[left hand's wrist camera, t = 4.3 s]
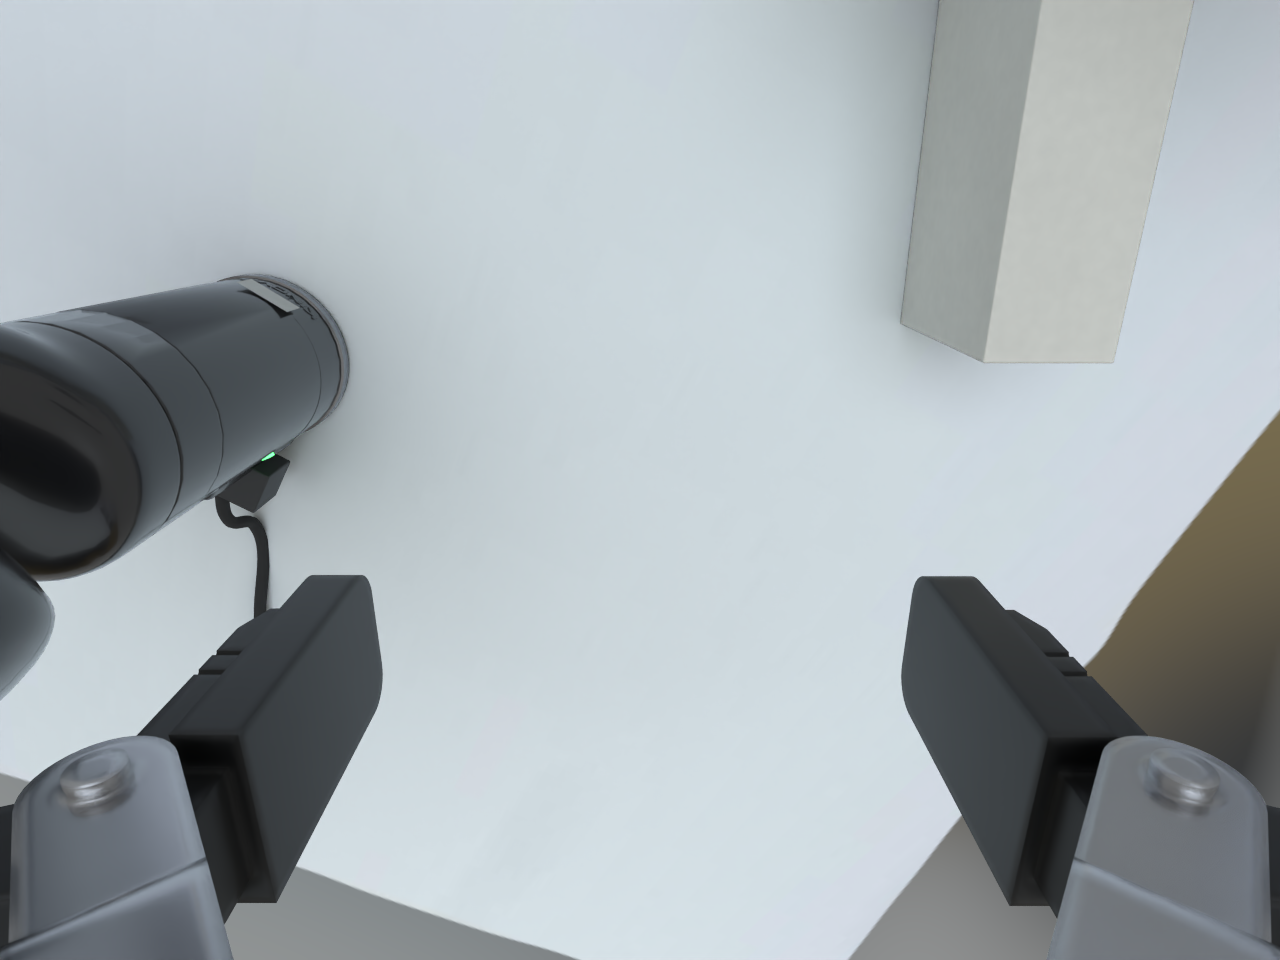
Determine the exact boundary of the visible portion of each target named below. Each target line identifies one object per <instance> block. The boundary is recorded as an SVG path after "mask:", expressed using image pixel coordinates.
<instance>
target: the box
mask: <svg viewBox="0 0 1280 960" xmlns="http://www.w3.org/2000/svg"><path fill="white" fill-rule="evenodd" d="M1193 3H1194V0H939V8H938V17H937V25H936V33H935V41H934V50H933V58H932V66H931V75H930V83H929V91H928V99H927V108H926V116H925V124H924V133H923V141H922V149H921V157H920V166H919V174H918V182H917V191H916V199H915V207H914V216H913V224H912V232H911V240H910V249H909V257H908V265H907V274H906V282H905V290H904V298H903V307H902V315H901V324H902V325H905V326H907V327H909V328H911V329H913V330H915V331H917V332H919V333H921V334H924V335H926V336H928V337H930V338H932V339H934V340H936V341H938V342H940V343H943V344H945V345H947V346H949V347H951V348H953V349H955V350H957V351H959V352H962V353H964V354H966V355H968V356H970V357H972V358H974V359H976V360H978V361H981V362H983V363H1113V362H1114V358H1115V354H1116V349H1117V345H1118V340H1119V336H1120V331H1121V327H1122V322H1123V318H1124V313H1125V309H1126V304H1127V300H1128V295H1129V291H1130V286H1131V282H1132V277H1133V273H1134V268H1135V264H1136V259H1137V255H1138V250H1139V246H1140V241H1141V237H1142V232H1143V228H1144V223H1145V219H1146V214H1147V210H1148V205H1149V201H1150V196H1151V192H1152V187H1153V183H1154V178H1155V174H1156V169H1157V165H1158V160H1159V156H1160V151H1161V147H1162V142H1163V138H1164V133H1165V129H1166V124H1167V120H1168V115H1169V111H1170V106H1171V102H1172V97H1173V93H1174V88H1175V84H1176V79H1177V75H1178V70H1179V66H1180V62H1181V57H1182V53H1183V48H1184V44H1185V39H1186V35H1187V30H1188V26H1189V21H1190V17H1191V12H1192V8H1193Z"/></svg>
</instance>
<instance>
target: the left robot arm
mask: <svg viewBox="0 0 1280 960" xmlns="http://www.w3.org/2000/svg"><path fill="white" fill-rule="evenodd" d="M348 373H349V362H348V354H347V349H346V345H345V342H344V339H343V336H342V334H341V332H340V330H339V328H338V326H337V324H336V322H335V321H334V319H333V318H332V316H331V315H330V314H329V312H328V311H327V310H326V309H325V307H324V306H323V305H322V304H321V303H320V302H319V301H318V300H316V299H315V298H314V297H313V296H312V295H310V294H309V293H308V292H306V291H305V290H303V289H302V288H300V287H298V286H297V285H295V284H292V283H290V282H288V281H286V280H283V279H280V278H276V277H273V276H267V275H258V274H248V275H240V276H235V277H230V278H226V279H223V280H220V281H217V282H214V283H208V284H202V285H196V286H191V287H186V288H181V289H175V290H170V291H165V292H160V293H154V294H149V295H144V296H139V297H134V298H128V299H123V300H118V301H113V302H107V303H102V304H97V305H92V306H86V307H81V308H76V309H71V310H65V311H60V312H56V313H51V314H46V315H41V316H35V317H30V318H25V319H20V320H15V321H9V322H4V323H0V701H1V700H2V699H3V698H4V697H5V696H6V695H7V694H8V693H9V692H10V691H11V690H12V689H13V688H14V687H15V686H16V685H17V683H18V682H19V681H20V680H21V679H22V678H23V677H24V676H25V675H26V673H27V672H28V671H29V670H30V669H31V668H32V667H33V666H34V664H35V663H36V662H37V660H38V659H39V658H40V656H41V655H42V653H43V652H44V650H45V648H46V646H47V644H48V642H49V640H50V637H51V634H52V631H53V627H54V621H55V612H54V607H53V605H52V602H51V600H50V598H49V597H48V596H47V595H46V593H45V592H44V591H43V590H42V588H41V587H40V586H39V585H38V583H37V582H36V581H57V580H64V579H70V578H74V577H78V576H81V575H84V574H87V573H91V572H93V571H96V570H98V569H101V568H103V567H104V566H106V565H108V564H110V563H112V562H114V561H115V560H117V559H119V558H121V557H122V556H124V555H125V554H127V553H128V552H129V551H131V550H132V549H134V548H135V547H137V546H138V545H140V544H141V543H142V542H144V541H145V540H147V539H148V538H149V537H151V536H152V535H154V534H155V533H157V532H158V531H160V530H161V529H162V528H164V527H165V526H167V525H168V524H170V523H171V522H173V521H174V520H176V519H177V518H179V517H180V516H181V515H183V514H184V513H186V512H187V511H189V510H190V509H192V508H193V507H194V506H195V505H197V504H198V503H200V502H201V501H203V500H209V499H212V498H214V497H215V502H216V509H217V513H218V515H219V517H220V519H221V521H222V522H223V523H224V524H225V525H226V526H227V527H230V528H234V529H238V528H244V527H249V528H250V530H251V532H252V533H253V535H254V538H255V541H256V546H257V576H256V587H255V599H254V619H252V620H251V621H249V622H247V623H246V624H244V625H242V626H241V627H239V628H238V629H237V630H236V631H235V632H234V633H233V634H232V635H231V636H230V637H229V638H228V639H227V640H226V641H225V642H224V643H223V644H222V646H221V647H220V648H219V649H218V650H217V654H216V655H212V656H211V657H210V658H209V659H208V660H207V661H206V663H205V664H204V665H203V666H202V667H201V668H200V669H199V673H198V675H193V676H192V677H191V678H190V680H189V681H188V682H187V683H186V684H185V685H184V686H183V687H182V688H181V689H180V690H179V691H178V692H177V693H176V694H175V695H174V697H173V698H172V699H171V700H170V701H169V702H168V703H167V704H166V705H165V706H164V707H163V708H162V709H161V710H160V711H159V712H158V714H157V715H156V716H155V717H154V718H153V719H152V720H151V721H150V722H149V723H148V724H147V725H146V726H145V727H144V728H143V729H142V731H141V732H140V733H139V734H138V735H137V736H130V737H122V738H117V739H112V740H108V741H105V742H101V743H98V744H95V745H92V746H89V747H87V748H84V749H81V750H79V751H77V752H75V753H73V754H71V755H69V756H67V757H65V758H63V759H61V760H60V761H58V762H56V763H54V764H53V765H51V766H50V767H48V768H47V769H45V770H44V771H43V772H41V773H40V774H39V775H38V776H36V777H35V778H34V779H33V780H32V781H31V782H30V783H29V784H28V785H27V786H26V787H25V788H24V789H23V791H22V792H21V793H20V795H19V796H18V798H17V800H16V802H15V804H12V805H7V806H3V807H0V960H234V959H233V956H232V952H231V948H230V944H229V941H228V937H227V933H226V930H225V926H224V924H225V922H226V921H227V919H228V917H229V916H230V914H231V912H232V910H233V909H234V907H235V905H236V903H277V901H278V899H279V897H280V895H281V893H282V891H283V889H284V887H285V885H286V883H287V881H288V879H289V878H290V876H291V874H292V872H293V870H294V868H295V866H296V864H297V862H298V860H299V858H300V856H301V854H302V852H303V851H304V849H305V847H306V845H307V843H308V841H309V839H310V837H311V835H312V833H313V831H314V829H315V827H316V825H317V824H318V822H319V820H320V818H321V816H322V814H323V812H324V810H325V808H326V806H327V804H328V802H329V800H330V798H331V796H332V795H333V793H334V791H335V789H336V787H337V785H338V783H339V781H340V779H341V777H342V775H343V773H344V771H345V769H346V768H347V766H348V764H349V762H350V760H351V758H352V756H353V754H354V752H355V750H356V748H357V746H358V744H359V742H360V740H361V739H362V737H363V735H364V733H365V731H366V729H367V727H368V725H369V723H370V721H371V719H372V717H373V715H374V713H375V711H376V709H377V706H378V704H379V700H380V695H381V689H382V677H383V673H382V662H381V654H380V647H379V640H378V633H377V626H376V619H375V612H374V604H373V597H372V591H371V587H370V583H369V581H368V579H367V578H366V577H365V576H363V575H311V576H309V577H308V578H307V579H305V581H304V582H303V583H302V584H301V585H300V586H299V587H298V588H297V590H296V591H295V592H294V593H293V594H292V595H291V596H290V598H289V599H288V600H287V601H286V602H285V603H284V604H283V605H282V607H281V608H280V609H269V610H268V611H266V599H267V587H268V577H269V550H268V540H267V536H266V533H265V531H264V528H263V527H262V525H261V523H260V522H259V520H258V519H257V518H255V517H252V516H240V517H235V516H234V515H233V514H232V512H231V509H230V503H229V502H232V503H234V504H236V505H238V506H240V507H242V508H244V509H246V510H248V511H250V512H252V513H254V512H255V511H257V510H258V509H259V508H260V507H262V506H263V505H264V504H265V503H267V502H268V501H269V500H270V499H272V498H273V497H274V496H275V495H276V493H277V491H278V489H279V486H280V484H281V482H282V479H283V477H284V475H285V473H286V470H287V468H288V466H289V464H290V461H289V460H287V459H285V458H283V457H281V456H279V455H277V453H278V452H280V451H281V450H283V449H284V448H286V447H287V446H289V445H290V444H291V443H292V441H293V439H294V438H295V437H297V436H298V435H300V434H301V433H303V432H305V431H308V430H309V429H311V428H313V427H315V426H316V425H317V424H319V423H320V422H322V421H323V420H324V419H326V418H327V417H328V416H329V415H330V414H331V413H332V412H333V411H334V410H335V408H336V407H337V405H338V404H339V402H340V401H341V399H342V397H343V394H344V392H345V389H346V385H347V381H348ZM901 680H902V691H903V697H904V701H905V705H906V708H907V711H908V713H909V715H910V717H911V719H912V721H913V723H914V724H915V726H916V728H917V730H918V732H919V734H920V736H921V738H922V740H923V742H924V743H925V745H926V747H927V749H928V751H929V753H930V755H931V757H932V759H933V761H934V763H935V764H936V766H937V768H938V770H939V772H940V774H941V776H942V778H943V780H944V782H945V784H946V785H947V787H948V789H949V791H950V793H951V795H952V797H953V799H954V801H955V803H956V805H957V806H958V808H959V810H960V812H961V814H962V816H963V818H964V820H965V822H966V824H967V825H968V827H969V829H970V831H971V833H972V835H973V837H974V839H975V841H976V843H977V845H978V846H979V848H980V850H981V852H982V854H983V856H984V858H985V860H986V862H987V864H988V866H989V867H990V869H991V871H992V873H993V875H994V877H995V879H996V881H997V883H998V885H999V887H1000V888H1001V890H1002V892H1003V894H1004V896H1005V898H1006V900H1007V902H1008V904H1009V905H1010V906H1050V907H1051V909H1052V911H1053V912H1054V914H1055V916H1056V918H1057V922H1056V926H1055V930H1054V933H1053V937H1052V941H1051V944H1050V948H1049V952H1048V956H1047V959H1046V960H1280V808H1276V807H1272V806H1268V805H1266V804H1265V802H1264V800H1263V798H1262V796H1261V795H1260V793H1259V792H1258V791H1257V789H1256V788H1255V787H1254V786H1253V785H1252V784H1251V783H1250V782H1249V781H1248V780H1247V779H1246V778H1245V777H1244V776H1242V775H1241V774H1240V773H1239V772H1237V771H1236V770H1235V769H1233V768H1232V767H1230V766H1229V765H1227V764H1226V763H1224V762H1222V761H1220V760H1219V759H1217V758H1215V757H1213V756H1211V755H1209V754H1207V753H1205V752H1203V751H1201V750H1199V749H1196V748H1193V747H1191V746H1188V745H1185V744H1182V743H1179V742H1175V741H1172V740H1168V739H1163V738H1158V737H1150V736H1148V735H1147V734H1146V733H1145V732H1144V731H1143V730H1142V729H1141V728H1140V727H1139V726H1138V725H1137V724H1136V723H1135V722H1134V721H1133V719H1132V718H1131V717H1130V716H1129V715H1128V714H1127V713H1126V712H1125V711H1124V710H1123V709H1122V708H1121V707H1120V706H1119V705H1118V704H1117V703H1116V702H1115V700H1114V699H1113V698H1112V697H1111V696H1110V695H1109V694H1108V693H1107V692H1106V691H1105V690H1104V689H1103V688H1102V687H1101V686H1100V685H1099V684H1098V683H1097V682H1096V681H1095V679H1094V678H1093V677H1091V676H1087V671H1086V670H1085V669H1084V668H1083V667H1082V666H1081V665H1080V664H1079V663H1078V662H1077V660H1076V659H1075V658H1074V657H1069V652H1068V651H1067V650H1066V649H1065V648H1064V647H1063V646H1062V645H1061V644H1060V643H1059V642H1058V640H1057V639H1056V638H1055V637H1054V636H1053V635H1052V634H1051V633H1050V632H1049V631H1048V630H1047V629H1045V628H1044V627H1042V626H1040V625H1039V624H1037V623H1035V622H1034V621H1032V620H1030V619H1028V618H1027V617H1025V616H1023V615H1022V614H1020V613H1018V612H1017V611H1015V610H1005V609H1004V608H1003V607H1002V606H1001V605H1000V604H999V602H998V601H997V600H996V599H995V598H994V597H993V596H992V595H991V593H990V592H989V591H988V590H987V589H986V588H985V587H984V586H983V584H982V583H981V582H980V581H979V580H978V579H977V578H975V577H972V576H922V577H919V578H918V579H917V581H916V583H915V585H914V588H913V593H912V599H911V606H910V613H909V620H908V628H907V635H906V642H905V649H904V656H903V663H902V673H901Z"/></svg>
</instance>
